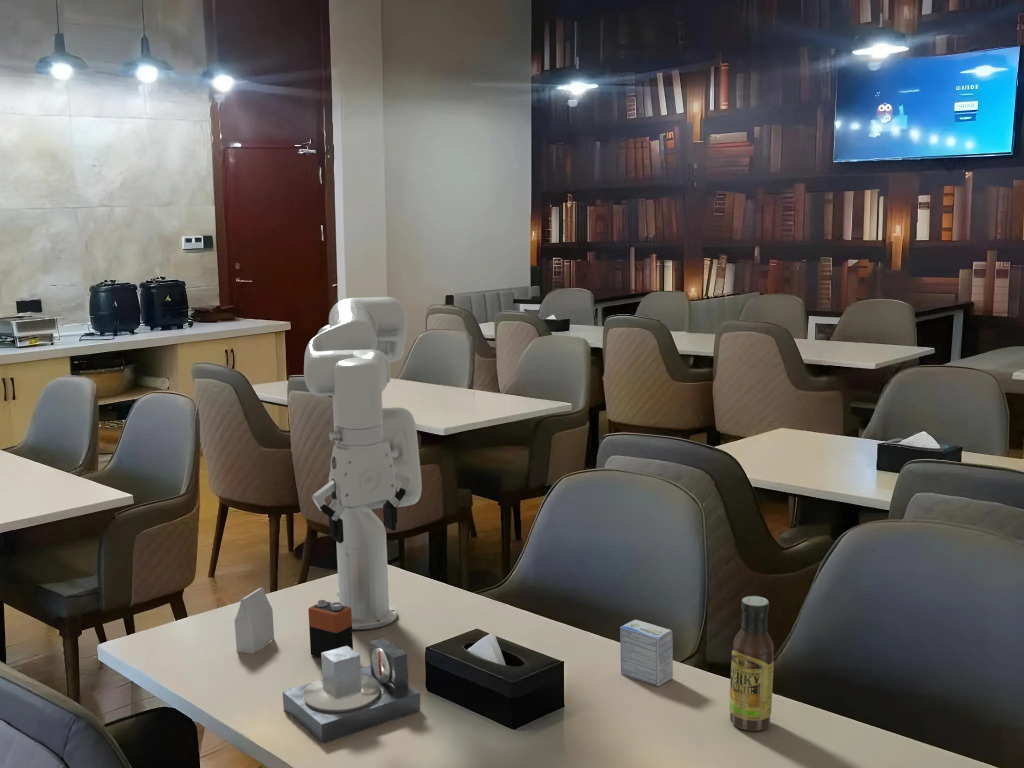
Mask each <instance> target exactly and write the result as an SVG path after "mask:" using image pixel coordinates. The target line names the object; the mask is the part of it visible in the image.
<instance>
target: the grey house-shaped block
mask: <svg viewBox="0 0 1024 768" xmlns="http://www.w3.org/2000/svg"><path fill="white" fill-rule="evenodd" d="M273 613H274V612H273V608H272V605H271V603H270V601H269V598H268V597H267V594H266V592H265V590H264V587H259V588H258V589H256V590H254V591H252V592H251V593H249V594H248V595H246V596H245V597H243V598H242V599H241V600H240V604H239V607H238V610H237V613H236V616H235V619H234V631H235V644H236V646H235V647H236V649H235V650H236V652H237V651H240V652H239V653H245V652H248V653H247V654H252V653H255V652H256V653H257V652H259V651H260V650H262V649H263V648H264V647H266V646H267V645H269V644H270V643H271V642H272V641H271V640H273V639H274V640H275V632H274V631H275V627H274V614H273ZM274 640H273V641H274ZM270 641H271V642H270ZM269 642H270V643H269ZM268 643H269V644H268ZM266 644H267V645H266ZM265 645H266V646H265ZM262 647H263V648H262ZM261 648H262V649H261ZM258 650H259V651H258ZM256 653H255V654H256Z"/></svg>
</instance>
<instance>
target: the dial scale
mask: <svg viewBox="0 0 1024 768" xmlns="http://www.w3.org/2000/svg"><path fill="white" fill-rule="evenodd" d="M369 652H370V653H369V654H370V656H369V658H370V665H367V666H363V667H361V689H362V691H360V692H357V693H353V694H350V695H347V696H343V697H340V698H337V699H335V698H334V697H333V696H331V695H330V694H329V693H328V692H327V691H325V690H324V689H323V679H322V677H321V678H318V679H317V680H316V679H315V680H314V681H312V682H310V683H306V684H303V685H299V686H296V687H292V688H290V689H285V690H283V691H282V705H283V711H285V712H286V713H288V715H289V716H291V717H292V718H293V719H295V720H296V722H297V723H299V724H300V725H301V726H302V727H303V728H305V730H307V732H309V733H310V734H311V735H312V736H314V737H315V738H316V739H317V740H318V741H320V743H321V744H324V743H327V742H330V741H333V740H336V739H339V738H343V737H346V736H348V735H351V734H355V733H357V732H360V731H364V730H367V729H369V728H372V726H373V727H375V725H376V726H378V724H379V725H381V723H382V724H384V723H383V722H385V723H387V721H388V722H391V721H393V720H396V718H397V719H399V717H400V718H402V716H403V717H405V715H406V716H408V715H410V714H413V713H417V712H419V710H420V711H421V697H420V696H421V694H420V691H418V690H417V689H414V687H412V686H411V685H409V669H408V668H409V667H408V666H409V664H408V653H407V652H405V651H404V650H403V649H401V648H399V647H398V646H396V645H394V644H393V643H391V642H389V641H388V640H387V639H385V638H383V637H380V638H378V639H375V640H371V641H370V640H369ZM390 720H391V721H390Z"/></svg>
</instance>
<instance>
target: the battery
mask: <svg viewBox="0 0 1024 768" xmlns="http://www.w3.org/2000/svg"><path fill="white" fill-rule="evenodd" d="M308 626H309V627H308V628H309V644H310V645H309V647H310V656H312V657H315V656H316V657H315V658H319V657H320V658H319V659H321V653H322V652H326V651H330V650H333V649H337V648H341V647H344V646H348V647H350V648H351V649H352V650H354V640H353V637H354V636H353V629H352V614H351V608H350V607H348V606H344V605H342V603H341V602H339V601H334V602H331V601H327V600H326V599H318V600H317V604H314V605H312V606H310V607H309V608H308Z"/></svg>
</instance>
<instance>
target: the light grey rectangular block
mask: <svg viewBox="0 0 1024 768" xmlns="http://www.w3.org/2000/svg"><path fill="white" fill-rule="evenodd" d="M320 659H321V678H322V679H323V689H324V690H325V691H327V692H328V693H329V694H330V695H331V696H333V697H334V698H335V699H337V698H340V697H343V696H347V695H350V694H353V693H357V692H360V691H362V689H361V668H362V667H361V654H359V652H357V651H355V650H354V649H353V650H352V649H351V648H350V647H348V646H344V647H341V648H337V649H333V650H330V651H326V652H322V653H321V658H320Z"/></svg>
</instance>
